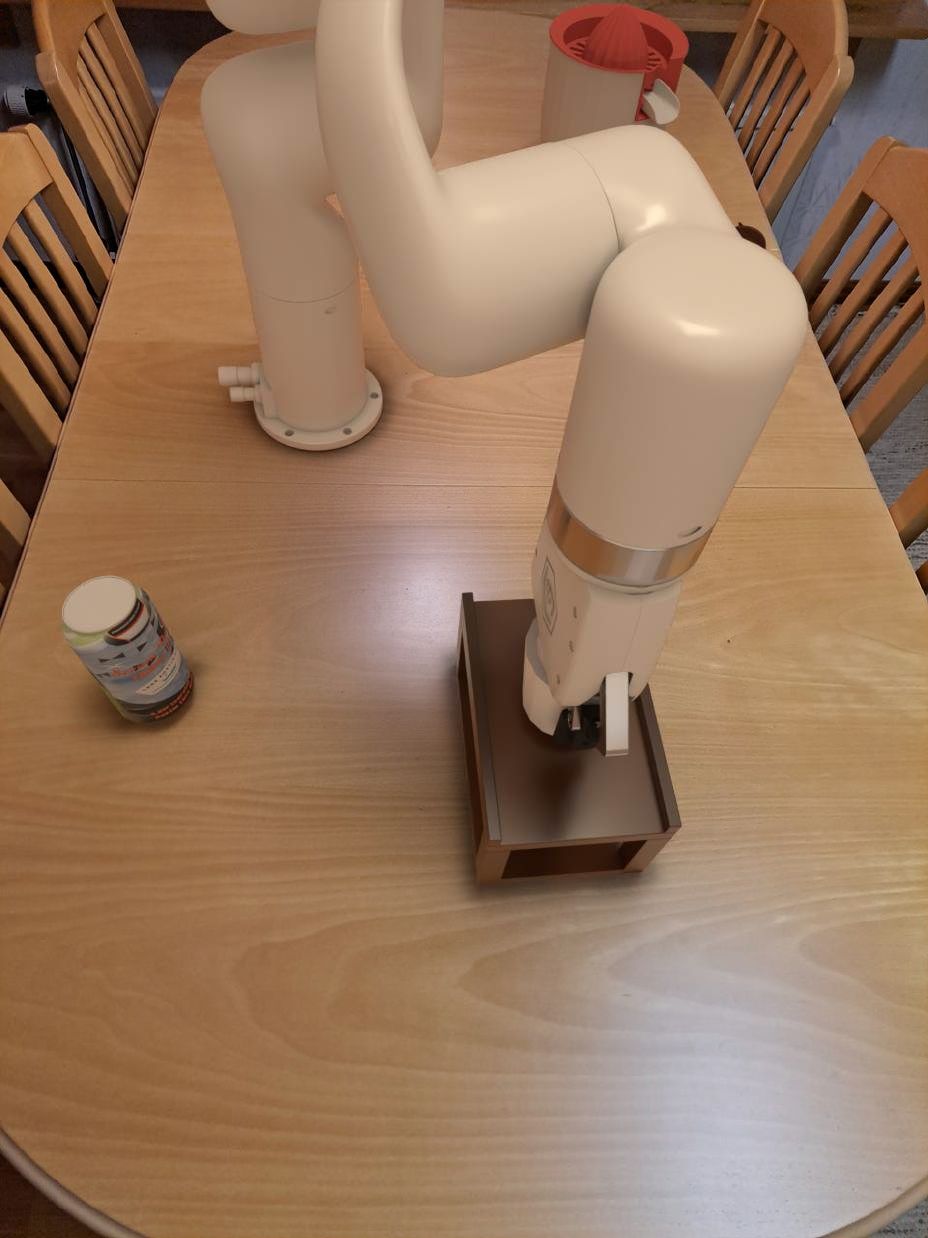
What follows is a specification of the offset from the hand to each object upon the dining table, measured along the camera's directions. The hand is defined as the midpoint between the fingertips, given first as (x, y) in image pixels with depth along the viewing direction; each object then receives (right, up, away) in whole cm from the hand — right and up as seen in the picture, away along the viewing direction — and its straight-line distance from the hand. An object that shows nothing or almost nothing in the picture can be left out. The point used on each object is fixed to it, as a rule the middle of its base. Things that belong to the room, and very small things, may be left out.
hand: (568, 684), depth 53 cm
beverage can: (-31, -2, +12) cm, 33 cm away
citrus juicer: (+10, +59, +53) cm, 80 cm away
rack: (-1, -7, +11) cm, 13 cm away
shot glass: (0, -1, +2) cm, 2 cm away
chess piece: (+22, +39, +41) cm, 61 cm away
